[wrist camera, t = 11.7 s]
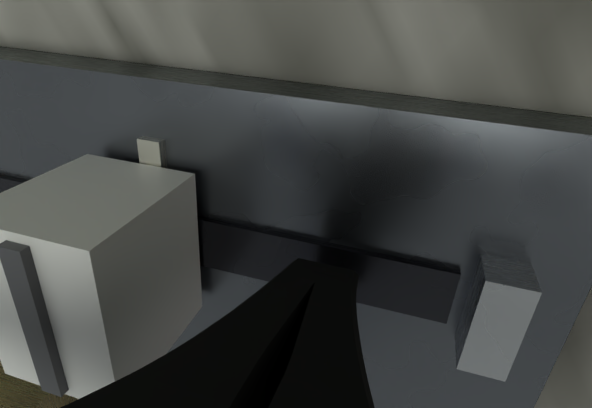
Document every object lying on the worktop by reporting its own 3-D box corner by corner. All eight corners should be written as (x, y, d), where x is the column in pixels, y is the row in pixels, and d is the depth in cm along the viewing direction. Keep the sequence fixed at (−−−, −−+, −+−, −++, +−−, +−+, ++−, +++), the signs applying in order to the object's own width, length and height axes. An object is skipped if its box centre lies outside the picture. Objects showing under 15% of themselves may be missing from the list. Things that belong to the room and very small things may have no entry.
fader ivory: (202, 306, 12) (115, 421, 8) (109, 281, 12) (-4, 380, 9) (194, 173, 10) (79, 257, 7) (87, 153, 11) (-64, 221, 7)
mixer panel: (447, 537, 16) (449, 623, 14) (19, 387, 20) (-31, 434, 18) (624, 121, 8) (690, 163, 6) (-106, 33, 13) (-213, 41, 11)
